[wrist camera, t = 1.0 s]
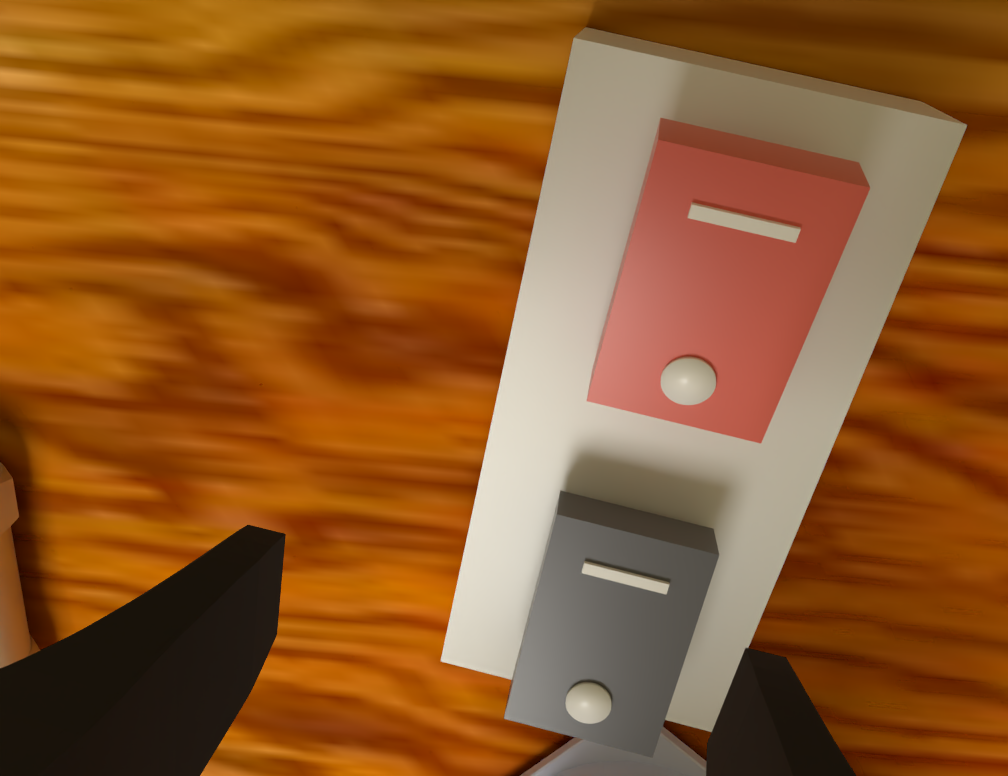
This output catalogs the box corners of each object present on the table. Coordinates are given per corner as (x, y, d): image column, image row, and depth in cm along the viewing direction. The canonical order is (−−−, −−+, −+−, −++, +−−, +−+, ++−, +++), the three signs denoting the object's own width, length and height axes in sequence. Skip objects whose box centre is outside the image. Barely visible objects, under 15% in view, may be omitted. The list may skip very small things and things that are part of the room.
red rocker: (660, 117, 15) (657, 141, 14) (859, 162, 15) (870, 189, 14) (592, 368, 18) (586, 403, 17) (757, 407, 18) (761, 446, 17)
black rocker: (560, 490, 19) (556, 516, 18) (713, 528, 19) (720, 557, 18) (509, 685, 21) (503, 721, 20) (650, 722, 21) (652, 761, 20)
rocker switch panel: (585, 26, 18) (573, 37, 16) (921, 101, 18) (967, 125, 15) (463, 587, 25) (440, 661, 23) (706, 649, 25) (712, 732, 22)
